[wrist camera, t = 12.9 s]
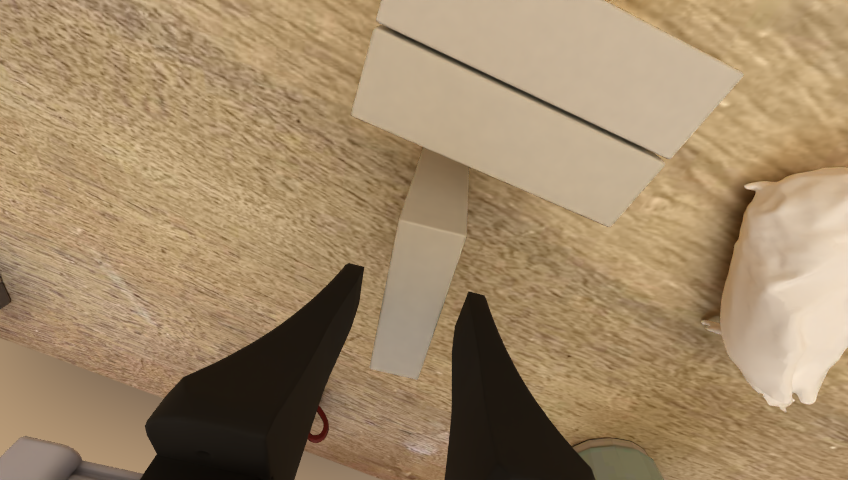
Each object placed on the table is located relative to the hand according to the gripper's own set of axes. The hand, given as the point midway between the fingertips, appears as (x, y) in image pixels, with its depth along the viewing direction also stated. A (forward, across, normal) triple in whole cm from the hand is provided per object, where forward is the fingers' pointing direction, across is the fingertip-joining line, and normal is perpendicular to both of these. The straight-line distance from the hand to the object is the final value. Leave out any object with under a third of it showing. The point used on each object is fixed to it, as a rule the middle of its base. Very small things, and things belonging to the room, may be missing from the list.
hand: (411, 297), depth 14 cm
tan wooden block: (+6, 0, 0) cm, 6 cm away
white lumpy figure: (+6, -16, -3) cm, 17 cm away
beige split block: (+6, -2, -8) cm, 10 cm away
